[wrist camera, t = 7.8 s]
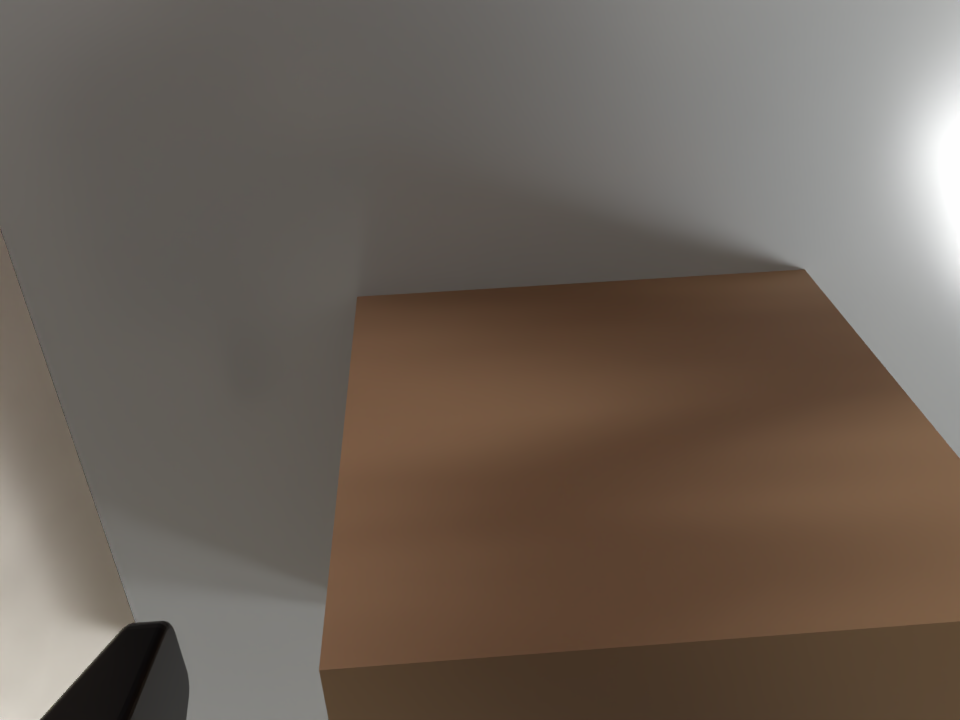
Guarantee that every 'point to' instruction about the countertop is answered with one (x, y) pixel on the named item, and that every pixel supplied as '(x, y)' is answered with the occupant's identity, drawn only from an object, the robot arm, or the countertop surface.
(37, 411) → the countertop surface
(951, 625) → the walnut cube
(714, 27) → the slate tile
